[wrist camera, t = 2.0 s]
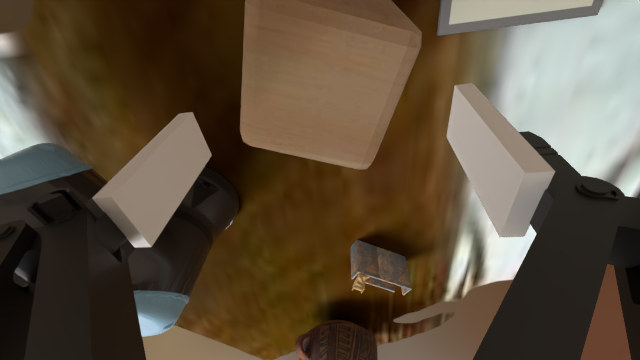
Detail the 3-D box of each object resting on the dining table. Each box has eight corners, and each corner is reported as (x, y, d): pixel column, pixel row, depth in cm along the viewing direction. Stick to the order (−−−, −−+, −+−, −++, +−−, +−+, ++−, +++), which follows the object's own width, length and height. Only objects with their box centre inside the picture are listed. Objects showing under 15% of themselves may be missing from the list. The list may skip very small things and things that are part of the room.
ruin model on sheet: (349, 246, 58) (350, 290, 51) (356, 237, 56) (358, 282, 49) (396, 262, 61) (404, 306, 53) (404, 254, 59) (414, 299, 51)
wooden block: (295, -35, 29) (240, -20, 14) (387, -10, 30) (433, 31, 15) (282, 62, 36) (235, 148, 20) (359, 81, 36) (370, 177, 21)
